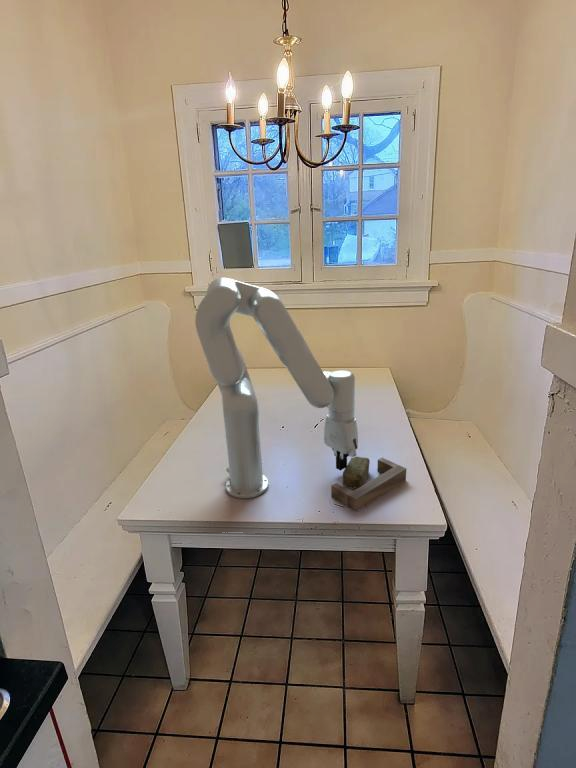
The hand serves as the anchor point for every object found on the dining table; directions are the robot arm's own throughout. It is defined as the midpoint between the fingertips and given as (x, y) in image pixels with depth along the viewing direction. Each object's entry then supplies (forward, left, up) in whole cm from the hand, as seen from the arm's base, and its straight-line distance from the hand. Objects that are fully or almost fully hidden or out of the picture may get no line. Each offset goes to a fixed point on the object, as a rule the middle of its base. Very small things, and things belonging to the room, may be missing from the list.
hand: (341, 467), depth 138 cm
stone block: (+5, +1, -3) cm, 6 cm away
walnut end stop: (+11, 0, -2) cm, 11 cm away
